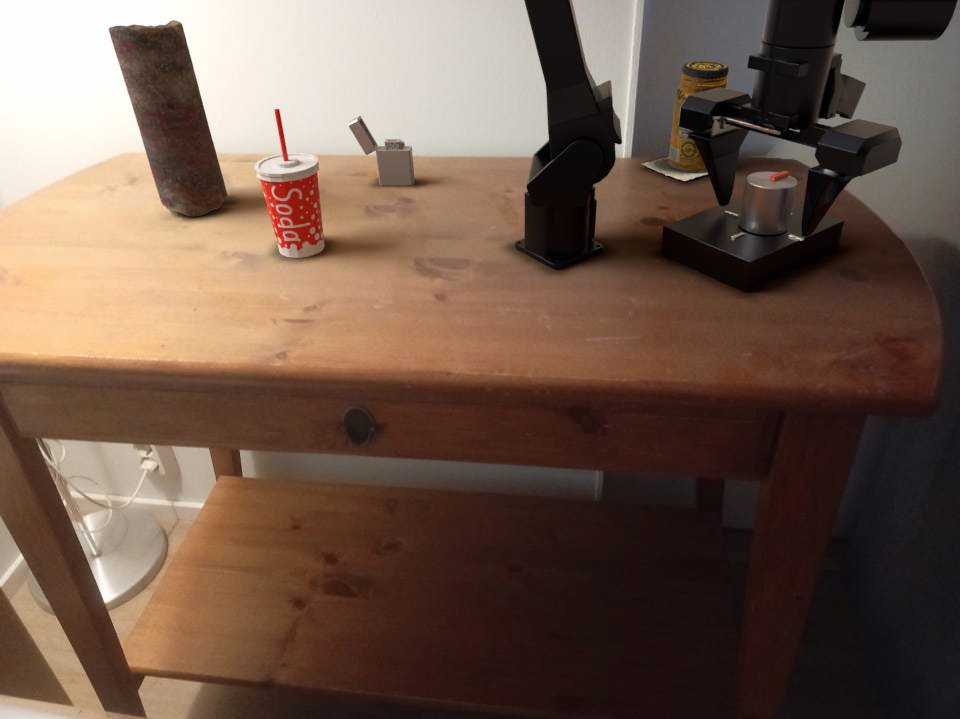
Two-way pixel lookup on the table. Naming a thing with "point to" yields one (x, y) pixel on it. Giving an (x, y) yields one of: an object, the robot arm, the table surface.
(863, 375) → the table surface
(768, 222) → the hob knob
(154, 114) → the rough stone core
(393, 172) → the lighter
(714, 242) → the hob panel
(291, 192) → the beverage cup
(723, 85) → the condiment
